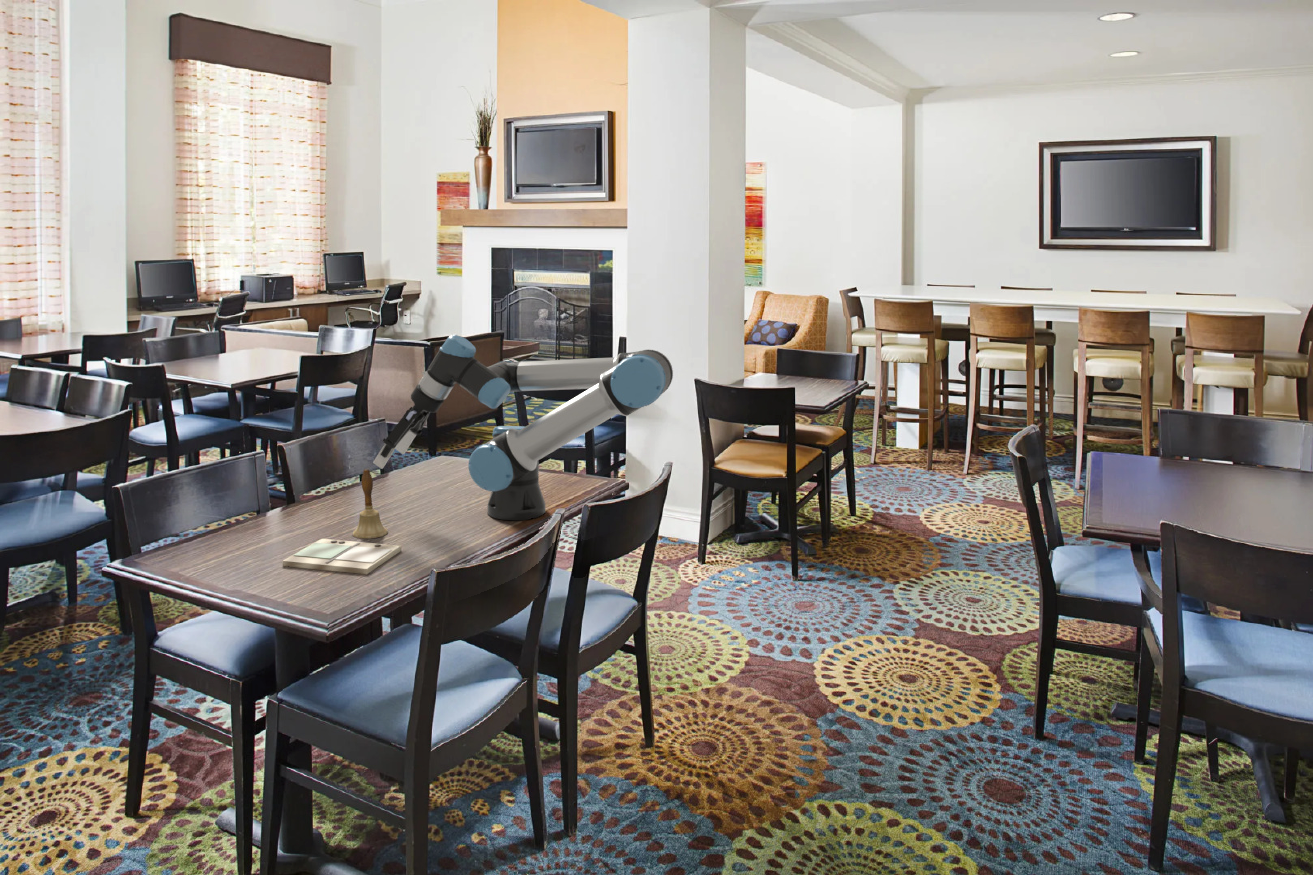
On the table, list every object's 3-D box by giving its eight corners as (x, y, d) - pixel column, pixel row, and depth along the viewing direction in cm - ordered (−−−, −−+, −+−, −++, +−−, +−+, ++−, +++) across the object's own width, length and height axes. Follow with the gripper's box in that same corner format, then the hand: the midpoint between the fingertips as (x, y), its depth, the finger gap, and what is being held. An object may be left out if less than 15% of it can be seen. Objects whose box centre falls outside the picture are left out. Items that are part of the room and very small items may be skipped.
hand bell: (354, 540, 228) (351, 475, 224) (350, 530, 235) (347, 467, 232) (390, 536, 231) (387, 472, 228) (385, 526, 238) (382, 464, 235)
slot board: (401, 550, 221) (400, 544, 221) (367, 574, 206) (366, 567, 205) (322, 543, 225) (321, 537, 225) (282, 565, 210) (282, 559, 209)
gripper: (436, 373, 248) (396, 437, 254) (399, 392, 224) (355, 462, 230) (460, 390, 248) (419, 453, 254) (425, 411, 224) (381, 480, 230)
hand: (388, 458), depth 242 cm, fingers open, 13 cm apart
